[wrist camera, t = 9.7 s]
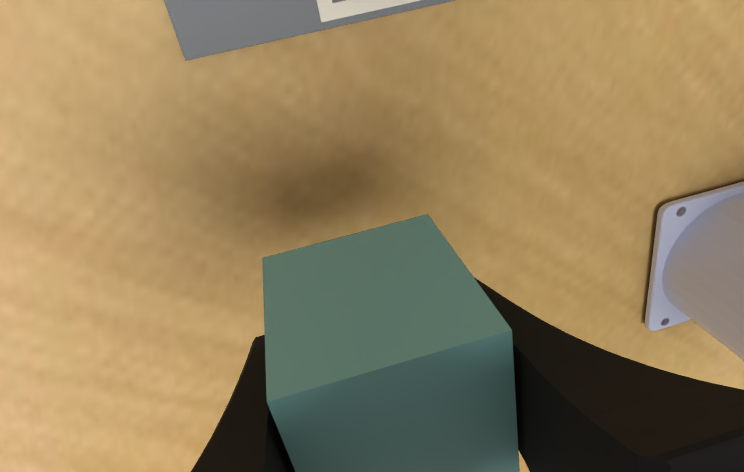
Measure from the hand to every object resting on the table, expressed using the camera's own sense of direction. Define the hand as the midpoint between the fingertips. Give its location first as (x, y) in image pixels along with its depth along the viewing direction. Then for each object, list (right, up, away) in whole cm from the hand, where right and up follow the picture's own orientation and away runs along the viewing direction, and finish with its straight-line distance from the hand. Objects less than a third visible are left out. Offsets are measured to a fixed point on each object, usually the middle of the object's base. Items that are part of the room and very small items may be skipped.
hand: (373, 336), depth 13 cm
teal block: (0, +1, +1) cm, 2 cm away
